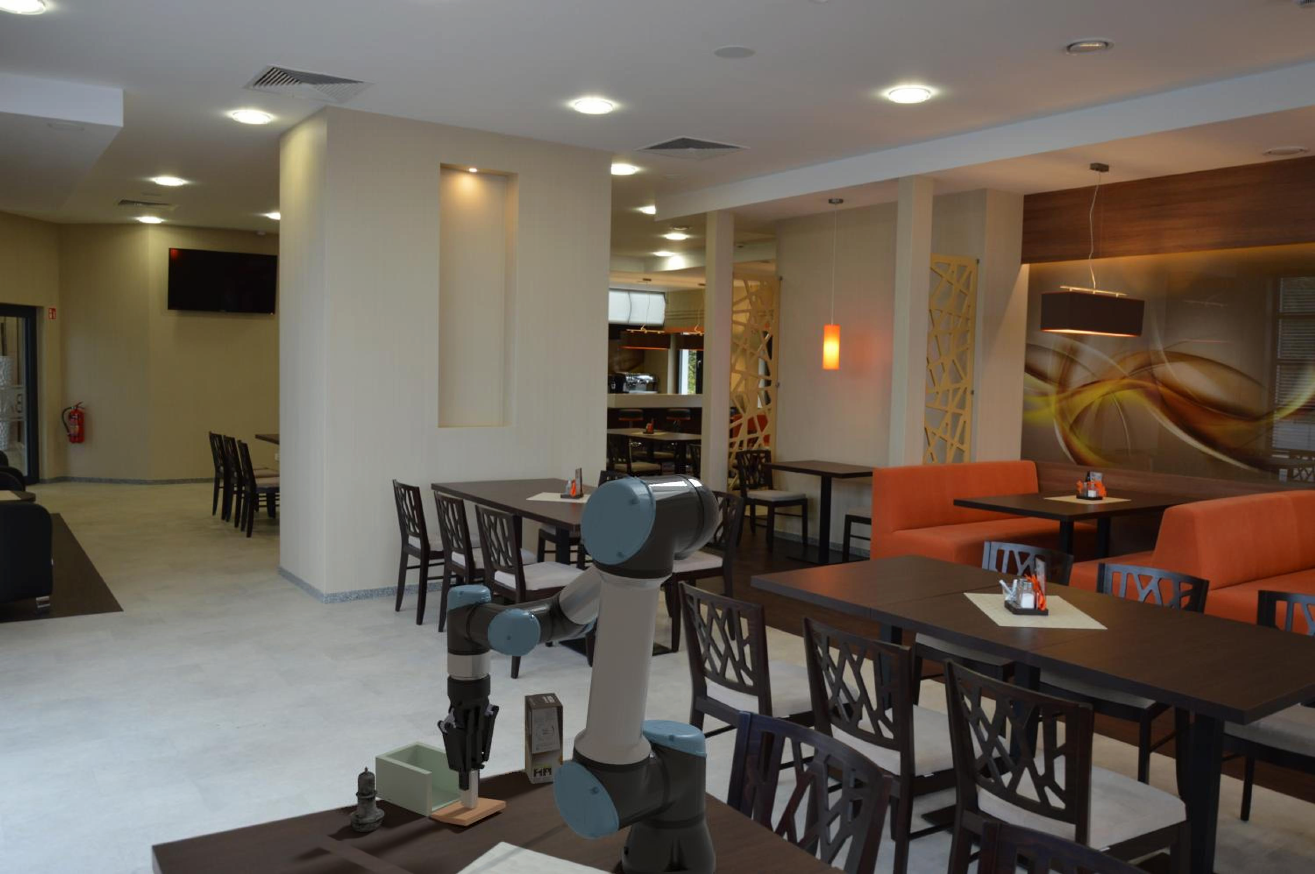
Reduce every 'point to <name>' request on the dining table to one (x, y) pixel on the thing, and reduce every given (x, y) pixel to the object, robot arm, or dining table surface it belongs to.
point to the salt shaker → (366, 804)
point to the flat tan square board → (468, 811)
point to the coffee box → (543, 736)
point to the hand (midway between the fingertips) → (469, 805)
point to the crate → (417, 778)
